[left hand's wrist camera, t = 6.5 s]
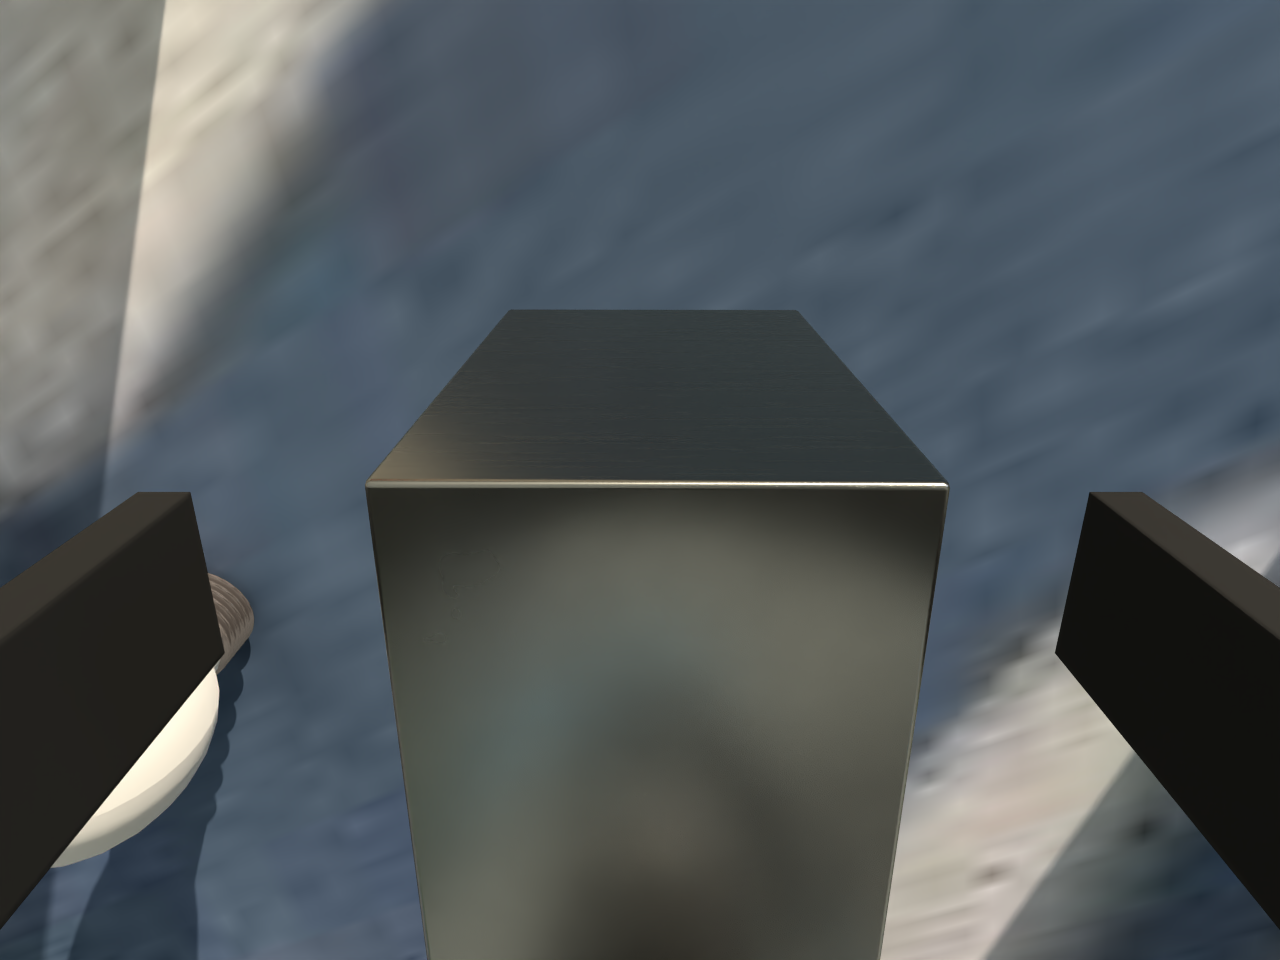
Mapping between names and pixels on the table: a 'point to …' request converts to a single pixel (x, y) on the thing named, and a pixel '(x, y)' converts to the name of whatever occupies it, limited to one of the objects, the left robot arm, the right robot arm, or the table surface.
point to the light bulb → (167, 746)
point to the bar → (655, 640)
